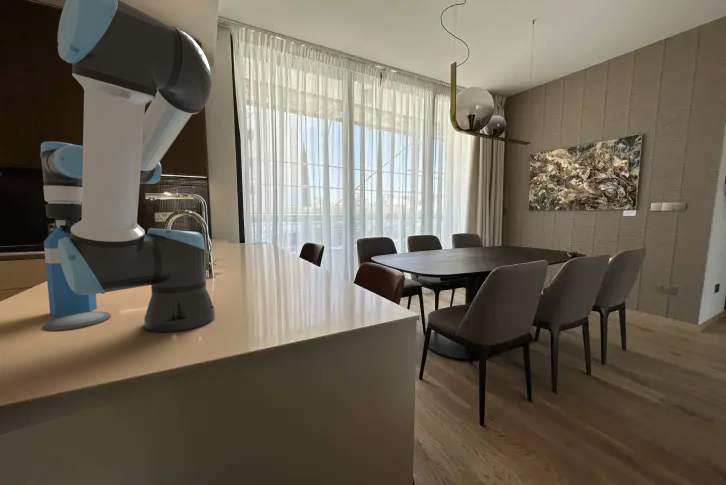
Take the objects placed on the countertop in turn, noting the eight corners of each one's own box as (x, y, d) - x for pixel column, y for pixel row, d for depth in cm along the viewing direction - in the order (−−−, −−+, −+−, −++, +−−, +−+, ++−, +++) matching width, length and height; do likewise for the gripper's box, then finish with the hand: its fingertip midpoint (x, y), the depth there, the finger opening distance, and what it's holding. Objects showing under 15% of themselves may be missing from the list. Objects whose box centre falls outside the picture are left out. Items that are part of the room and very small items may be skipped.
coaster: (121, 317, 80) (121, 314, 80) (62, 333, 69) (61, 330, 68) (93, 311, 84) (93, 308, 84) (34, 326, 73) (33, 323, 73)
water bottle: (105, 306, 88) (99, 219, 86) (71, 317, 79) (63, 220, 77) (76, 305, 89) (69, 219, 87) (39, 316, 80) (30, 220, 78)
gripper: (106, 203, 81) (112, 287, 83) (60, 203, 89) (67, 280, 91) (70, 202, 74) (78, 293, 76) (24, 202, 82) (32, 285, 84)
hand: (72, 286), depth 84 cm, fingers closed on water bottle, 9 cm apart
